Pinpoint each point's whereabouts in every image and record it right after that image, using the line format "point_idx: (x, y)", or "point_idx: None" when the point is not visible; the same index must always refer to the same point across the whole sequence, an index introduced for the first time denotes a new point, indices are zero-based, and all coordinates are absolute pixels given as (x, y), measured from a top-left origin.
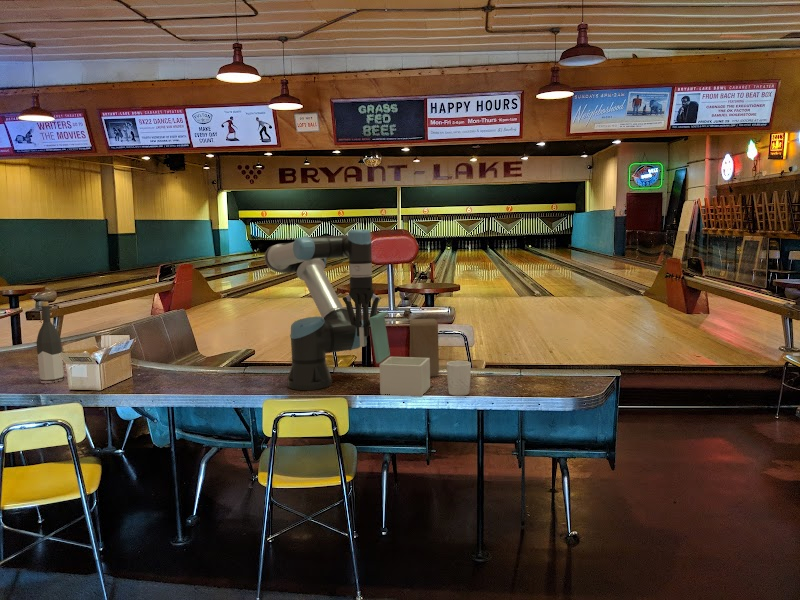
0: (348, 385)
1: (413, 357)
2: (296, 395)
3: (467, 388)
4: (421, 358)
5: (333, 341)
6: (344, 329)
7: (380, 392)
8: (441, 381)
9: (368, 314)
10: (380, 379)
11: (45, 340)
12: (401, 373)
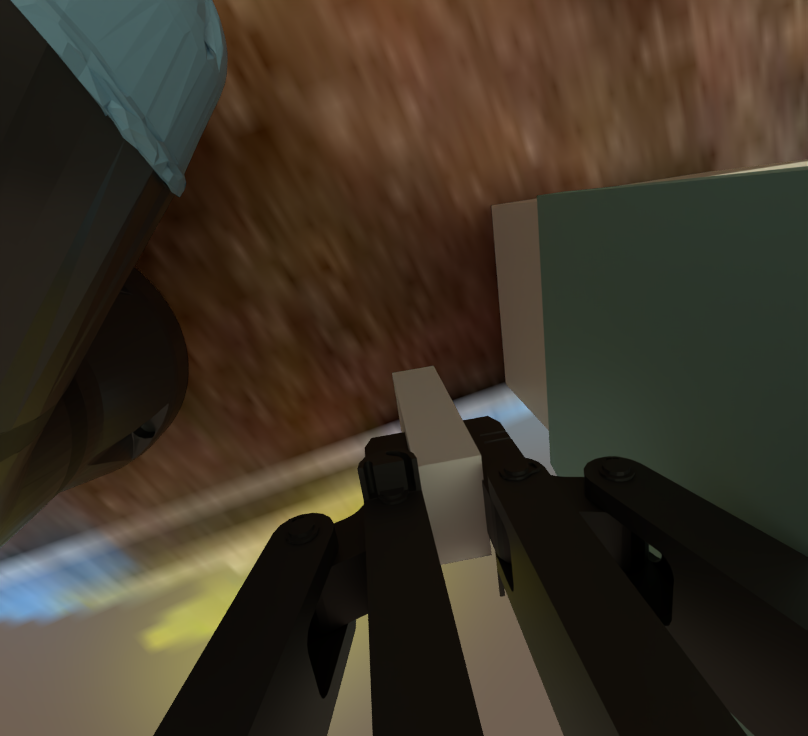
0: (271, 290)
1: (745, 172)
2: (146, 527)
3: None
4: None
5: (49, 411)
6: (10, 298)
7: (509, 386)
8: (748, 22)
9: (638, 605)
10: (533, 410)
11: None
12: None
